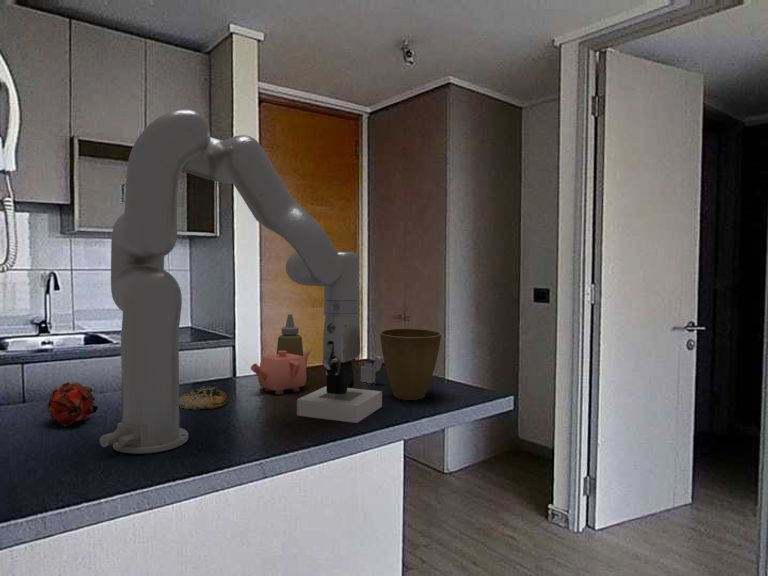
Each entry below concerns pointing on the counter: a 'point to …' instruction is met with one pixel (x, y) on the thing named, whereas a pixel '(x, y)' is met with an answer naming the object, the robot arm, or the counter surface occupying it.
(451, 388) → the counter surface
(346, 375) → the light bulb
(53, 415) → the dragon fruit
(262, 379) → the teapot
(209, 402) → the bread roll
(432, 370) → the plant pot
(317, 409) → the socket block
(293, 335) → the squeeze bottle
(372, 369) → the lighter
